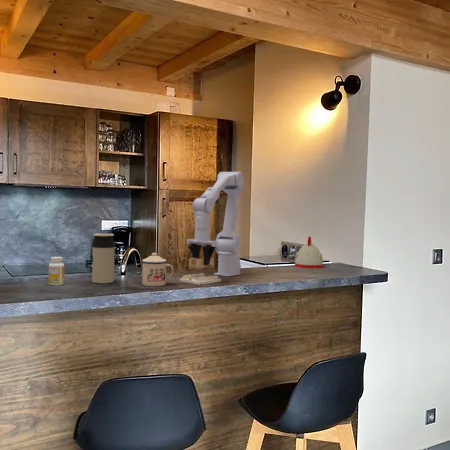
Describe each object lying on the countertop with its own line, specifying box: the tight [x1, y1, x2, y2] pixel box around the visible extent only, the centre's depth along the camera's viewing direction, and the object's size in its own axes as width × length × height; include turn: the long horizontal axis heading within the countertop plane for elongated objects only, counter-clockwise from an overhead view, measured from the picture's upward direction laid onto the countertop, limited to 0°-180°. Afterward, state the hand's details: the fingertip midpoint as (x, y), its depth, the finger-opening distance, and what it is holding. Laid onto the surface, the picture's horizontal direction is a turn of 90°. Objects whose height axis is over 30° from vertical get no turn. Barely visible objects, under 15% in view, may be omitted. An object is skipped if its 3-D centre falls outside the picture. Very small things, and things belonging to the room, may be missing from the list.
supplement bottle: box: [48, 256, 65, 286], centre depth 177 cm, size 5×5×10 cm
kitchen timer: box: [294, 236, 324, 269], centre depth 246 cm, size 14×14×15 cm
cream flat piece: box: [178, 272, 222, 286], centre depth 191 cm, size 12×11×2 cm
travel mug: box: [91, 233, 116, 285], centre depth 184 cm, size 8×8×18 cm
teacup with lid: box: [141, 252, 174, 287], centre depth 182 cm, size 12×9×12 cm
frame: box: [188, 256, 215, 271], centre depth 191 cm, size 9×5×4 cm, turn 141°
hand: (201, 263), depth 191 cm, fingers closed on frame, 5 cm apart
